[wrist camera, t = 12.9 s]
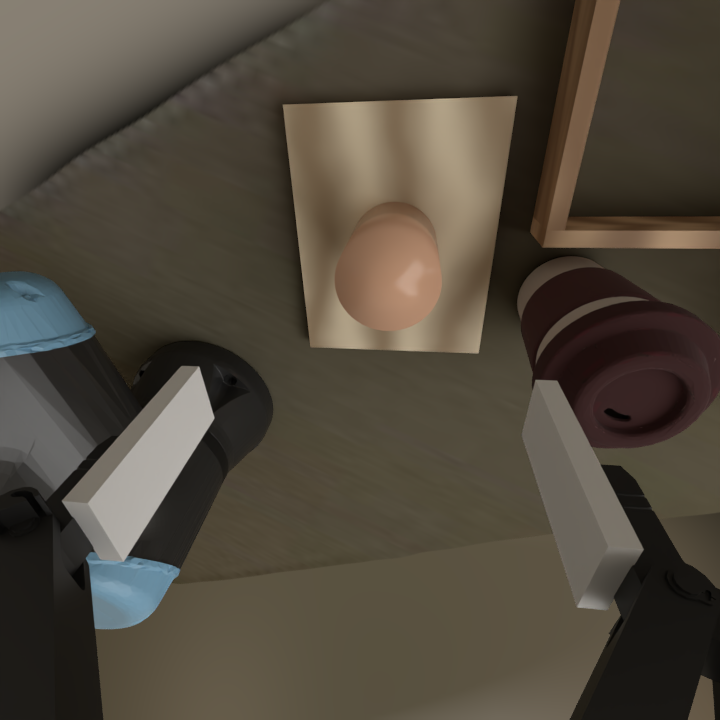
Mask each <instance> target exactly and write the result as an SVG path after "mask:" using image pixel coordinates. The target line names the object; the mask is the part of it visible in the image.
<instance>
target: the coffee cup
mask: <svg viewBox="0 0 720 720" xmlns="http://www.w3.org/2000/svg"><path fill="white" fill-rule="evenodd" d="M517 309H518V313H519V316H520V320H521V332H522V336H523V340H524V343H525V347H526V350H527V354H528V357H529V361H530V364H531V368H532V371H533V377H532V389H533V388H534V384H535V380H553V381H558V383H559V385H560V387H561V389H562V391H563V393H564V395H565V397H566V399H567V401H568V403H569V405H570V407H571V408H572V410H573V412H574V414H575V416H576V418H577V420H578V422H579V424H580V426H581V428H582V430H583V432H584V434H585V436H586V438H587V440H588V442H589V444H590V446H591V447H596V448H636V447H642V446H648V445H653V444H655V443H658V442H661V441H664V440H667V439H669V438H671V437H673V436H675V435H677V434H678V433H680V432H682V431H683V430H685V429H686V428H688V427H689V426H690V425H691V424H692V423H693V422H695V421H696V420H697V419H698V417H699V416H700V415H701V414H702V412H704V411H705V410H706V409H707V408H708V407H709V405H710V404H711V403H712V402H713V400H714V399H715V398H716V397H717V395H718V393H719V391H720V337H719V336H718V335H717V333H716V332H715V331H714V330H713V329H712V328H711V327H710V326H708V325H707V324H706V323H704V322H703V321H702V320H701V319H699V318H698V317H697V316H696V315H694V314H692V313H691V312H689V311H688V310H685V309H683V308H681V307H678V306H676V305H673V304H669V303H664V302H661V301H660V300H658V299H656V298H655V297H653V296H652V295H650V294H649V293H647V292H646V291H644V290H643V289H641V288H639V287H638V286H636V285H635V284H633V283H632V282H630V281H629V280H627V279H626V278H624V277H623V276H621V275H619V274H617V273H615V272H613V271H611V270H608V269H604V268H603V267H602V266H600V265H599V264H597V263H596V262H594V261H592V260H590V259H587V258H583V257H577V256H566V257H559V258H556V259H553V260H550V261H548V262H546V263H544V264H542V265H541V266H539V267H538V268H536V269H535V270H534V271H533V272H532V273H531V274H530V275H529V276H528V277H527V278H526V280H525V281H524V282H523V284H522V286H521V288H520V291H519V294H518V299H517Z"/></svg>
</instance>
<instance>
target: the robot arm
mask: <svg viewBox="0 0 720 720" xmlns="http://www.w3.org/2000/svg"><path fill="white" fill-rule="evenodd" d="M95 333H96V331H95V330H94V328H93V326H92V325H90V324H88V323H87V322H85V321H84V319H83V318H82V317H81V315H80V314H79V313H78V311H77V310H76V308H75V307H74V306H73V304H72V303H71V302H70V300H69V299H68V298H67V296H66V295H65V294H64V292H63V291H62V289H61V288H60V287H59V286H58V285H57V284H55V283H54V282H53V281H51V280H50V279H48V278H46V277H44V276H41V275H39V274H35V273H31V272H22V271H14V272H3V273H0V720H103V713H102V701H101V690H100V680H99V669H98V657H97V646H96V636H95V629H119V628H126V627H130V626H133V625H136V624H138V623H140V622H141V621H143V620H144V619H146V618H147V617H149V616H150V615H151V613H152V612H154V610H155V609H156V608H157V606H158V605H159V603H160V601H161V600H162V598H163V596H164V594H165V593H166V591H167V589H168V587H169V586H170V584H171V582H172V581H173V579H174V578H176V577H177V576H178V575H179V572H180V568H181V566H182V564H183V562H184V560H185V558H186V556H187V554H188V552H189V550H190V548H191V546H192V544H193V542H194V540H195V538H196V536H197V534H198V532H199V530H200V528H201V526H202V524H203V522H204V520H205V518H206V516H207V514H208V512H209V510H210V508H211V506H212V503H213V501H214V499H215V497H216V495H217V493H218V491H219V489H220V487H221V485H222V483H223V481H224V479H225V477H226V476H227V474H228V472H229V471H230V470H231V469H232V468H234V467H235V466H236V465H237V464H238V463H239V462H240V461H241V460H242V459H243V458H244V457H245V456H246V455H247V454H248V453H249V452H250V451H252V450H253V449H254V448H255V447H257V446H258V444H259V443H260V442H261V441H262V439H263V437H264V436H265V434H266V431H267V429H268V427H269V425H270V423H271V420H272V415H273V404H272V399H271V396H270V393H269V390H268V388H267V386H266V385H265V383H264V381H263V380H262V379H261V377H260V376H259V375H258V373H257V372H256V371H255V370H254V369H253V368H252V367H251V366H250V365H248V364H247V363H246V362H245V361H243V360H242V359H241V358H239V357H238V356H236V355H234V354H233V353H231V352H229V351H227V350H225V349H223V348H220V347H217V346H214V345H211V344H207V343H202V342H194V341H184V342H176V343H172V344H169V345H166V346H164V347H162V348H161V349H159V350H158V351H156V352H155V353H154V354H153V355H152V356H151V357H150V358H149V359H148V360H147V361H146V362H145V363H144V364H143V365H142V366H141V367H140V369H139V370H138V372H137V374H136V376H135V379H134V382H133V386H132V387H131V389H129V387H128V386H127V384H126V383H125V381H124V380H123V378H122V377H121V375H120V374H119V372H118V371H117V369H116V368H115V366H114V365H113V363H112V362H111V360H110V359H109V357H108V356H107V354H106V352H105V351H104V349H103V348H102V346H101V345H100V343H99V342H98V340H97V339H96V337H95V336H94V334H95ZM522 438H523V441H524V444H525V447H526V450H527V453H528V457H529V460H530V463H531V466H532V469H533V472H534V475H535V478H536V481H537V485H538V488H539V491H540V494H541V497H542V500H543V503H544V506H545V509H546V513H547V516H548V519H549V522H550V525H551V528H552V531H553V534H554V537H555V540H556V543H557V547H558V550H559V553H560V556H561V559H562V562H563V565H564V568H565V571H566V575H567V578H568V581H569V584H570V587H571V590H572V593H573V596H574V600H575V603H576V606H577V607H581V608H591V609H600V610H608V608H609V607H610V605H611V603H612V601H613V599H615V601H616V604H617V606H618V609H619V611H620V614H621V616H620V617H619V619H618V620H617V622H616V623H615V625H614V626H613V628H612V630H611V631H610V633H609V634H610V637H609V639H608V641H607V643H606V645H605V647H604V649H603V652H602V654H601V656H600V658H599V660H598V662H597V664H596V666H595V668H594V670H593V672H592V674H591V676H590V679H589V681H588V683H587V685H586V687H585V689H584V691H583V693H582V695H581V697H580V699H579V701H578V703H577V705H576V708H575V710H574V712H573V714H572V716H571V718H570V720H688V716H689V713H690V710H691V706H692V703H693V699H694V696H695V693H696V689H697V686H698V683H699V679H700V676H701V675H702V676H705V677H707V678H709V679H712V681H713V695H714V710H715V720H720V589H717V588H715V586H714V585H713V584H712V583H711V582H710V580H709V579H708V578H707V577H706V576H705V575H703V574H702V573H701V572H700V571H698V570H697V569H695V568H694V567H693V566H691V565H688V564H686V563H685V562H684V561H683V560H682V558H681V557H680V555H679V553H678V552H677V550H676V548H675V547H674V545H673V543H672V541H671V540H670V538H669V536H668V535H667V533H666V531H665V530H664V528H663V526H662V524H661V523H660V521H659V519H658V517H657V516H656V514H655V512H654V511H652V507H651V506H650V504H649V502H648V500H647V499H646V498H645V497H644V494H643V492H642V490H641V488H640V487H639V485H638V483H637V482H636V480H635V479H634V478H633V477H632V476H631V475H630V474H629V473H628V472H626V471H625V470H624V469H623V468H622V467H621V466H614V465H600V463H599V461H598V459H597V457H596V455H595V453H594V451H593V449H592V447H591V446H590V444H589V442H588V440H587V438H586V436H585V434H584V432H583V430H582V428H581V426H580V424H579V422H578V420H577V418H576V416H575V414H574V412H573V410H572V408H571V407H570V405H569V403H568V401H567V399H566V397H565V395H564V393H563V391H562V389H561V387H560V385H559V383H558V381H553V380H535V384H534V388H533V392H532V396H531V400H530V404H529V408H528V412H527V416H526V419H525V423H524V427H523V431H522Z"/></svg>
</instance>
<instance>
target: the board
mask: <svg viewBox="0 0 720 720" xmlns="http://www.w3.org/2000/svg"><path fill="white" fill-rule="evenodd" d="M517 97H518V96H501V97H475V98H448V99H422V100H395V101H368V102H342V103H315V104H289V105H283V111H284V120H285V129H286V137H287V146H288V155H289V164H290V172H291V181H292V190H293V198H294V207H295V216H296V225H297V233H298V242H299V251H300V260H301V268H302V277H303V286H304V295H305V303H306V312H307V321H308V330H309V338H310V347H321V348H347V349H374V350H400V351H427V352H454V353H479V347H480V340H481V334H482V327H483V320H484V314H485V307H486V301H487V294H488V288H489V281H490V274H491V268H492V261H493V255H494V248H495V241H496V235H497V228H498V222H499V215H500V209H501V202H502V195H503V189H504V182H505V176H506V169H507V163H508V156H509V149H510V143H511V136H512V130H513V123H514V117H515V110H516V103H517ZM387 202H402V203H407V204H410V205H412V206H414V207H416V208H418V209H419V210H421V211H422V212H423V213H424V214H425V215H426V216H427V217H428V218H429V220H430V221H431V223H432V225H433V227H434V229H435V232H436V237H437V244H438V252H439V259H440V267H441V275H442V287H441V292H440V296H439V299H438V301H437V303H436V305H435V306H434V308H433V309H432V311H431V312H430V313H429V314H428V315H427V316H426V317H425V318H424V319H423V320H421V321H420V322H419V323H417V324H415V325H413V326H411V327H408V328H405V329H402V330H396V331H381V330H376V329H372V328H369V327H367V326H365V325H362V324H361V323H359V322H357V321H356V320H355V319H354V318H352V317H351V316H350V315H349V314H348V313H347V312H346V310H345V309H344V308H343V306H342V305H341V303H340V301H339V299H338V296H337V293H336V289H335V270H336V266H337V263H338V261H339V258H340V256H341V254H342V252H343V250H344V248H345V246H346V244H347V242H348V240H349V239H350V237H351V235H352V233H353V231H354V229H355V227H356V225H357V223H358V221H359V220H360V219H361V217H362V216H363V215H364V214H365V213H366V212H367V211H369V210H370V209H371V208H373V207H375V206H377V205H380V204H382V203H387Z"/></svg>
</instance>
